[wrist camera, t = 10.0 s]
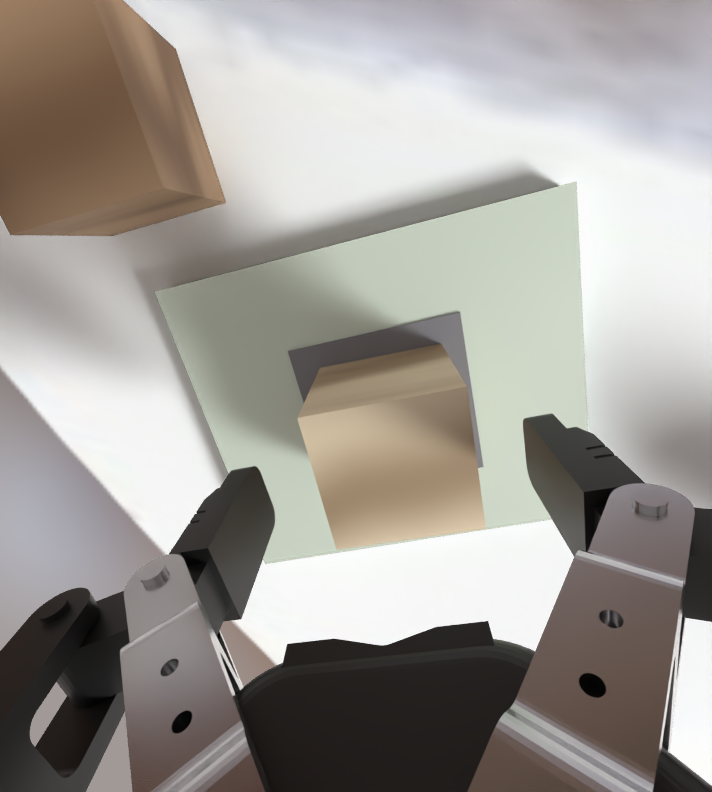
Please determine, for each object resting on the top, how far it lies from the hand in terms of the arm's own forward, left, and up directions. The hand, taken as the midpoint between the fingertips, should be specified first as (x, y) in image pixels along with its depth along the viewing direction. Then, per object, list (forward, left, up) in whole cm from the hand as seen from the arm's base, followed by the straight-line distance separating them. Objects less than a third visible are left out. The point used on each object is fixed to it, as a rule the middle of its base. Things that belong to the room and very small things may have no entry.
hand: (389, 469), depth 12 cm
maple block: (0, 0, -5) cm, 5 cm away
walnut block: (-12, -7, -7) cm, 15 cm away
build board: (0, 0, -7) cm, 7 cm away
